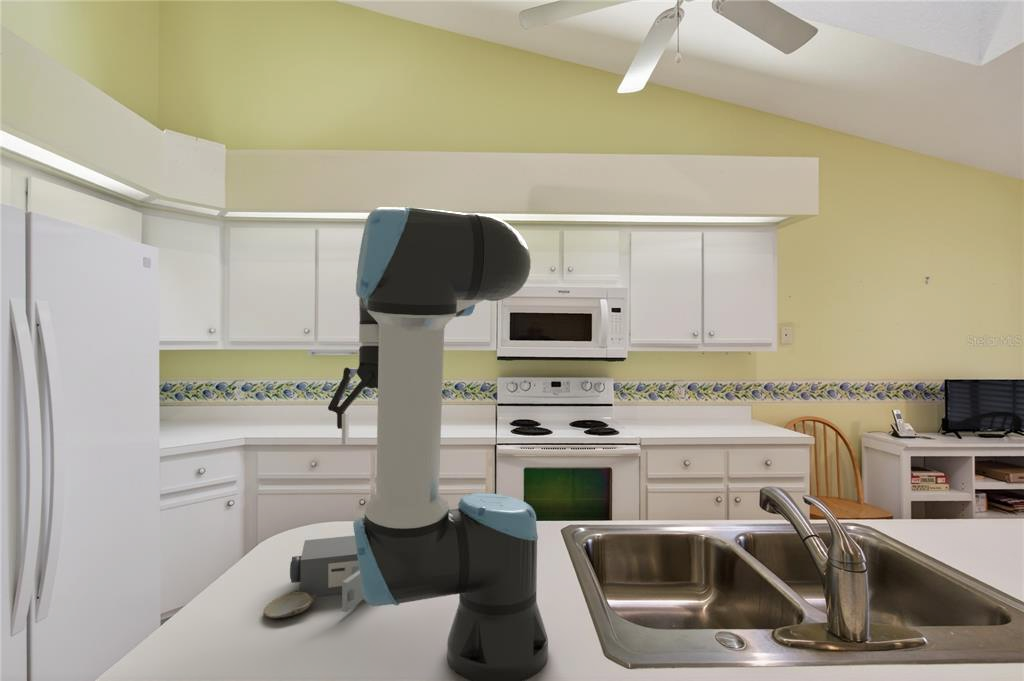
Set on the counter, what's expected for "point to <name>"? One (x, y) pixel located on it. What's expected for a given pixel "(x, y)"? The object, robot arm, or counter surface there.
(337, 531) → the counter surface
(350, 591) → the side door
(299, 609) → the seashell
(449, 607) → the counter surface
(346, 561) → the camera body
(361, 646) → the counter surface
